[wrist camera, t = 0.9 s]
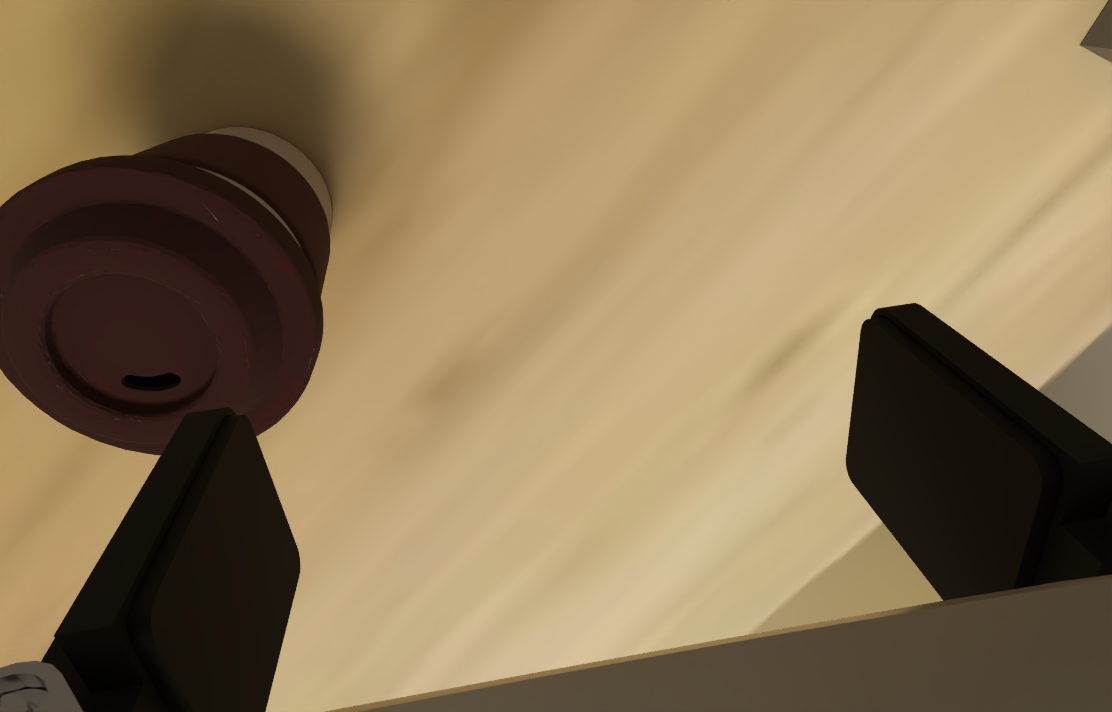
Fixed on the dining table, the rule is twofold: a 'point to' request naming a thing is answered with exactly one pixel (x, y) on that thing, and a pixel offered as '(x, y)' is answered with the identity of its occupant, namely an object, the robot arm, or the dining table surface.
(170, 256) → the coffee cup
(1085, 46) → the plate
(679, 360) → the dining table surface
